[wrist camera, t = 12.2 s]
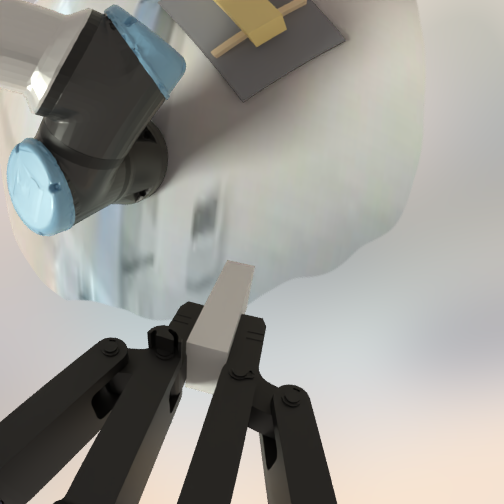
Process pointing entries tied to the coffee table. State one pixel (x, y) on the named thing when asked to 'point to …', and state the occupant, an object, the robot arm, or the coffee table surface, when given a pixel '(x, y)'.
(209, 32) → the tipping mat
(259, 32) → the mustard block
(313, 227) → the coffee table surface
